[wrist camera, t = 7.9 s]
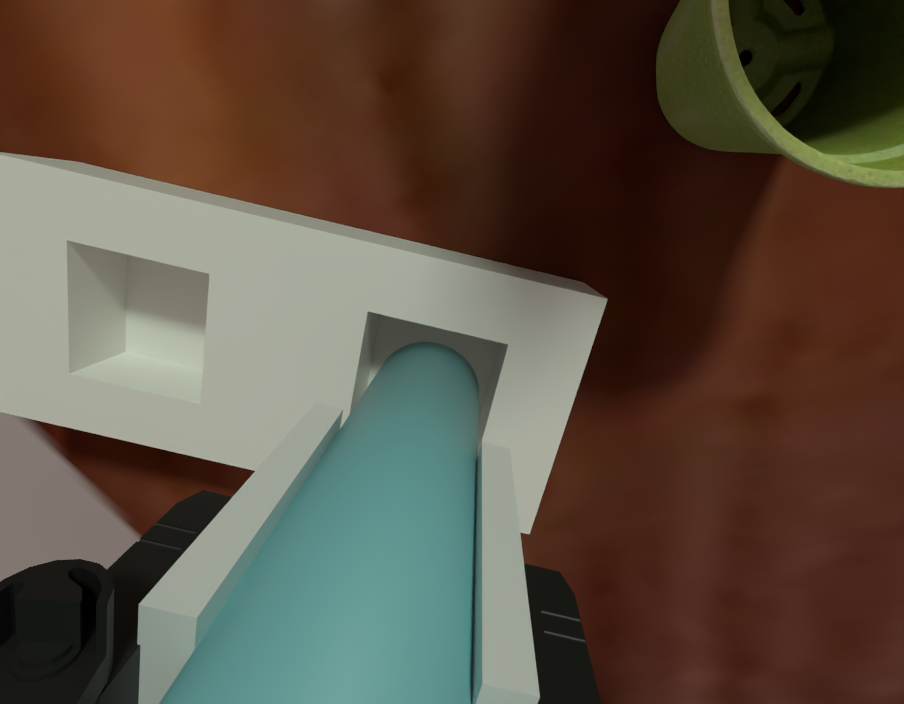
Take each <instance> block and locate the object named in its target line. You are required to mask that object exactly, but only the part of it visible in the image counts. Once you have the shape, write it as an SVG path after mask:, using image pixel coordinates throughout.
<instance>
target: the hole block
mask: <svg viewBox="0 0 904 704" xmlns="http://www.w3.org/2000/svg"><path fill="white" fill-rule="evenodd" d="M607 300H608V299H607V298H606V297H604V296H603V295H601V294H600V293H598V292H597V291H595V290H594V289H592V288H591V287H590V286H588V285H587V284H585V283H584V282H580V281H576V280H572V279H568V278H564V277H559V276H555V275H551V274H547V273H543V272H538V271H534V270H530V269H526V268H522V267H517V266H513V265H509V264H505V263H501V262H496V261H492V260H488V259H484V258H480V257H476V256H471V255H467V254H463V253H459V252H455V251H450V250H446V249H442V248H438V247H434V246H429V245H425V244H421V243H417V242H413V241H408V240H404V239H400V238H396V237H392V236H387V235H383V234H379V233H375V232H371V231H366V230H362V229H358V228H354V227H350V226H345V225H341V224H337V223H333V222H329V221H324V220H320V219H316V218H312V217H308V216H303V215H299V214H295V213H291V212H287V211H282V210H278V209H274V208H270V207H266V206H261V205H257V204H253V203H249V202H245V201H240V200H236V199H232V198H228V197H224V196H219V195H215V194H211V193H207V192H203V191H198V190H194V189H190V188H186V187H182V186H177V185H173V184H169V183H165V182H161V181H156V180H152V179H148V178H144V177H140V176H135V175H131V174H127V173H123V172H119V171H115V170H110V169H106V168H102V167H98V166H94V165H89V164H85V163H81V162H75V161H67V160H59V159H51V158H43V157H34V156H26V155H18V154H10V153H2V152H0V412H3V413H7V414H12V415H16V416H20V417H25V418H29V419H33V420H38V421H42V422H46V423H50V424H55V425H59V426H63V427H68V428H72V429H76V430H81V431H85V432H89V433H94V434H98V435H102V436H107V437H111V438H115V439H120V440H124V441H128V442H132V443H137V444H141V445H145V446H150V447H154V448H158V449H163V450H167V451H171V452H176V453H180V454H184V455H189V456H193V457H197V458H202V459H206V460H210V461H214V462H219V463H223V464H227V465H232V466H236V467H240V468H245V469H249V470H253V471H256V470H257V469H258V467H259V466H260V465H261V464H262V463H263V462H264V461H265V459H266V458H267V457H268V456H269V455H270V454H271V453H272V451H273V450H274V449H275V448H276V447H277V446H278V445H279V443H280V442H281V441H282V440H283V439H284V438H285V437H286V435H287V434H288V433H289V432H290V431H291V430H292V429H293V427H294V426H295V425H296V424H297V423H298V422H299V421H300V419H301V418H302V417H303V416H304V415H305V414H306V413H307V411H308V410H309V409H310V408H311V407H312V406H313V405H314V403H318V404H322V405H326V406H331V407H335V408H339V409H343V414H342V420H341V425H340V428H341V427H342V425H343V424H344V422H345V421H346V419H347V418H348V416H349V415H350V413H351V412H352V410H353V409H354V407H355V406H356V404H357V403H358V401H359V400H360V398H361V396H362V395H363V393H364V392H365V390H366V389H367V387H368V386H369V384H370V383H371V381H372V380H373V378H374V377H375V375H376V374H377V372H378V371H379V369H380V368H381V366H382V365H383V363H384V362H385V360H386V359H387V358H388V357H389V356H390V355H391V354H392V353H393V352H395V351H396V350H398V349H399V348H401V347H403V346H406V345H409V344H412V343H417V342H434V343H439V344H442V345H445V346H448V347H450V348H452V349H453V350H455V351H457V352H458V353H459V354H461V355H462V356H463V357H464V358H465V359H466V360H467V361H468V363H469V364H470V365H471V367H472V369H473V370H474V372H475V375H476V377H477V381H478V385H479V421H478V454H479V450H480V447H481V443H482V442H484V443H488V444H492V445H496V446H501V447H505V448H509V449H510V454H511V462H512V470H513V478H514V487H515V495H516V503H517V511H518V520H519V528H520V532H521V533H525V534H530V531H531V528H532V525H533V522H534V519H535V516H536V513H537V510H538V507H539V504H540V501H541V498H542V495H543V492H544V489H545V486H546V483H547V480H548V477H549V474H550V471H551V468H552V465H553V462H554V459H555V456H556V453H557V450H558V447H559V444H560V441H561V438H562V435H563V432H564V429H565V426H566V423H567V420H568V417H569V414H570V411H571V408H572V405H573V402H574V399H575V396H576V393H577V390H578V387H579V384H580V381H581V378H582V375H583V372H584V369H585V366H586V363H587V360H588V357H589V354H590V351H591V348H592V345H593V342H594V339H595V336H596V333H597V330H598V327H599V324H600V321H601V318H602V315H603V312H604V309H605V306H606V303H607Z"/></svg>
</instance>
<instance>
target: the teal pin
mask: <svg viewBox="0 0 904 704" xmlns="http://www.w3.org/2000/svg"><path fill="white" fill-rule="evenodd" d="M478 421H479V385H478V381H477V377H476V375H475V372H474V370H473V369H472V367H471V365H470V364H469V363H468V361H467V360H466V359H465V358H464V357H463V356H462V355H461V354H459V353H458V352H457V351H455V350H453V349H452V348H450V347H448V346H445V345H442V344H439V343H434V342H417V343H412V344H409V345H406V346H403V347H401V348H399V349H398V350H396V351H395V352H393V353H392V354H391V355H390V356H389V357H388V358H387V359H386V360H385V362H384V363H383V365H382V366H381V368H380V369H379V371H378V372H377V374H376V375H375V377H374V378H373V380H372V381H371V383H370V384H369V386H368V387H367V389H366V390H365V392H364V393H363V395H362V396H361V398H360V400H359V401H358V403H357V404H356V406H355V407H354V409H353V410H352V412H351V413H350V415H349V416H348V418H347V419H346V421H345V422H344V424H343V425H342V427H341V428H340V430H339V431H338V433H337V434H336V436H335V437H334V439H333V440H332V442H331V444H330V445H329V447H328V448H327V450H326V451H325V453H324V454H323V456H322V457H321V459H320V460H319V462H318V463H317V465H316V466H315V468H314V469H313V471H312V472H311V474H310V475H309V477H308V478H307V480H306V481H305V483H304V484H303V486H302V488H301V489H300V491H299V492H298V494H297V495H296V497H295V498H294V500H293V501H292V503H291V504H290V506H289V507H288V509H287V510H286V512H285V513H284V515H283V516H282V518H281V519H280V521H279V522H278V524H277V525H276V527H275V529H274V530H273V532H272V533H271V535H270V536H269V538H268V539H267V541H266V542H265V544H264V545H263V547H262V548H261V550H260V551H259V553H258V554H257V556H256V557H255V559H254V560H253V562H252V563H251V565H250V566H249V568H248V570H247V571H246V573H245V574H244V576H243V577H242V579H241V580H240V582H239V583H238V585H237V586H236V588H235V589H234V591H233V592H232V594H231V595H230V597H229V598H228V600H227V601H226V603H225V604H224V606H223V608H222V609H221V611H220V612H219V614H218V615H217V617H216V618H215V620H214V621H213V623H212V624H211V626H210V627H209V629H208V630H207V632H206V633H205V635H204V636H203V638H202V639H201V641H200V642H199V644H198V646H197V647H196V649H195V650H194V651H193V653H192V654H191V656H190V657H189V659H188V660H187V662H186V663H185V665H184V667H183V668H182V670H181V671H180V673H179V674H178V676H177V677H176V679H175V680H174V682H173V683H172V685H171V686H170V688H169V689H168V691H167V692H166V694H165V695H164V697H163V698H162V700H161V701H160V703H159V704H472V666H473V616H474V567H475V518H476V468H477V458H478Z"/></svg>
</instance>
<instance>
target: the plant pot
mask: <svg viewBox="0 0 904 704" xmlns="http://www.w3.org/2000/svg"><path fill="white" fill-rule="evenodd" d="M800 1H801V3H802V5H803V9H804V12H803V13H802V14H801V16H797V15H795V14H794V12H793V10H792V9H791V8H790V7H789V6H788V4H787V3H786V2H785V1H784V0H680V2H679V4H678V5H677V7H676V9H675V11H674V12H673V14H672V16H671V17H670V19H669V21H668V23H667V25H666V27H665V30H664V32H663V34H662V37H661V39H660V42H659V46H658V50H657V56H656V85H657V97H658V101H659V104H660V107H661V110H662V112H663V114H664V115H665V117H666V119H667V120H668V122H669V124H670V125H671V126H672V127H673V128H674V129H675V130H676V132H677V133H678V134H679V135H681V136H682V137H683V138H685V139H686V140H688V141H690V142H691V143H693V144H695V145H698V146H700V147H703V148H706V149H710V150H716V151H725V152H752V153H770V154H782V155H784V156H785V157H786V158H788V159H790V160H791V161H793V162H795V163H797V164H799V165H800V166H802V167H804V168H806V169H808V170H810V171H813V172H815V173H818V174H821V175H823V176H826V177H828V178H831V179H834V180H838V181H841V182H846V183H850V184H855V185H860V186H866V187H879V188H904V0H800ZM743 51H749V52H750V53H751V54H752V59H751V62H750V63H749V64H748V65H746V66H744V67H743V66H742V65H741V62H740V59H739V55H740V54H741V52H743ZM797 83H800V88H801V90H800V93H799V94H798V96H797V97H796V99H795V100H794V101H793V103H792V104H791V105H790V106H789V108H788V109H787V110H786V111H785V112H783V113H782V114H781V115H780V116H776V117H773V116H772V115H771V112H772V111H773V110H774V109H775V108H776V107H777V106H778V105H779V104H780V103H781V102H782V101H783V100H785V99H786V97H787V96H788V95H789V93H790V92H791V91H792V89H793V88H794V87H795V85H796V84H797Z"/></svg>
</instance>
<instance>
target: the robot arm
mask: <svg viewBox="0 0 904 704" xmlns="http://www.w3.org/2000/svg"><path fill="white" fill-rule="evenodd" d="M342 414H343V409H339V408H335V407H331V406H326V405H322V404H318V403H314V405H313V406H312V407H311V408H310V409H309V410H308V411H307V413H306V414H305V415H304V416H303V417H302V418H301V419H300V421H299V422H298V423H297V424H296V425H295V426H294V427H293V429H292V430H291V431H290V432H289V433H288V434H287V435H286V437H285V438H284V439H283V440H282V441H281V442H280V443H279V445H278V446H277V447H276V448H275V449H274V450H273V451H272V453H271V454H270V455H269V456H268V457H267V458H266V459H265V461H264V462H263V463H262V464H261V465H260V466H259V467H258V469H257V470H256V471H255V472H254V473H253V474H252V475H251V477H250V478H249V479H248V480H247V481H246V482H245V483H244V485H243V486H242V487H241V488H240V489H239V490H238V491H237V493H236V494H235V495H234V496H233V497H229V496H225V495H220V494H216V493H212V492H208V491H201V492H199V493H197V494H195V495H193V496H190V497H188V498H186V499H184V500H182V501H180V502H178V503H176V504H175V505H174V506H173V507H172V508H171V509H170V510H169V511H168V512H167V513H166V514H165V515H164V516H163V517H162V518H161V519H160V520H159V521H158V522H157V524H156V526H152V527H151V528H150V529H149V530H148V531H147V532H146V533H145V534H144V535H143V536H142V537H141V539H140V541H139V542H136V543H135V544H133V546H132V547H130V548H129V549H128V550H127V551H126V552H125V553H124V554H123V555H122V556H121V557H120V558H119V559H118V560H117V561H116V562H115V563H114V564H113V565H112V566H111V567H109V568H108V569H107V570H106V569H105V568H104V567H103V566H101V565H100V564H98V563H94V562H90V561H85V560H81V559H76V560H56V561H52V562H48V563H44V564H40V565H37V566H33V567H29V568H27V569H25V570H23V571H21V572H18V573H16V574H14V575H12V576H10V577H8V578H6V579H4V580H2V581H1V582H0V704H159V703H160V701H161V700H162V698H163V697H164V695H165V694H166V692H167V691H168V689H169V688H170V686H171V685H172V683H173V682H174V680H175V679H176V677H177V676H178V674H179V673H180V671H181V670H182V668H183V667H184V665H185V663H186V662H187V660H188V659H189V657H190V656H191V654H192V653H193V651H194V650H195V649H196V647H197V646H198V644H199V642H200V641H201V639H202V638H203V636H204V635H205V633H206V632H207V630H208V629H209V627H210V626H211V624H212V623H213V621H214V620H215V618H216V617H217V615H218V614H219V612H220V611H221V609H222V608H223V606H224V604H225V603H226V601H227V600H228V598H229V597H230V595H231V594H232V592H233V591H234V589H235V588H236V586H237V585H238V583H239V582H240V580H241V579H242V577H243V576H244V574H245V573H246V571H247V570H248V568H249V566H250V565H251V563H252V562H253V560H254V559H255V557H256V556H257V554H258V553H259V551H260V550H261V548H262V547H263V545H264V544H265V542H266V541H267V539H268V538H269V536H270V535H271V533H272V532H273V530H274V529H275V527H276V525H277V524H278V522H279V521H280V519H281V518H282V516H283V515H284V513H285V512H286V510H287V509H288V507H289V506H290V504H291V503H292V501H293V500H294V498H295V497H296V495H297V494H298V492H299V491H300V489H301V488H302V486H303V484H304V483H305V481H306V480H307V478H308V477H309V475H310V474H311V472H312V471H313V469H314V468H315V466H316V465H317V463H318V462H319V460H320V459H321V457H322V456H323V454H324V453H325V451H326V450H327V448H328V447H329V445H330V444H331V442H332V440H333V439H334V437H335V436H336V434H337V433H338V431H339V430H340V425H341V420H342ZM472 704H601V702H600V697H599V693H598V689H597V685H596V681H595V677H594V673H593V669H592V665H591V661H590V656H589V652H588V648H587V644H585V636H584V632H583V628H582V624H581V623H580V615H579V611H578V607H577V603H576V599H575V595H574V593H573V592H572V590H571V588H570V587H569V585H568V584H567V582H566V581H565V579H564V578H563V576H562V575H561V573H560V572H558V571H554V570H550V569H545V568H541V567H537V566H532V565H528V564H524V561H523V553H522V544H521V536H520V528H519V520H518V511H517V503H516V495H515V487H514V478H513V470H512V462H511V454H510V449H509V448H505V447H501V446H496V445H492V444H488V443H484V442H482V443H481V447H480V450H479V454H478V458H477V468H476V518H475V567H474V616H473V666H472Z"/></svg>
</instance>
